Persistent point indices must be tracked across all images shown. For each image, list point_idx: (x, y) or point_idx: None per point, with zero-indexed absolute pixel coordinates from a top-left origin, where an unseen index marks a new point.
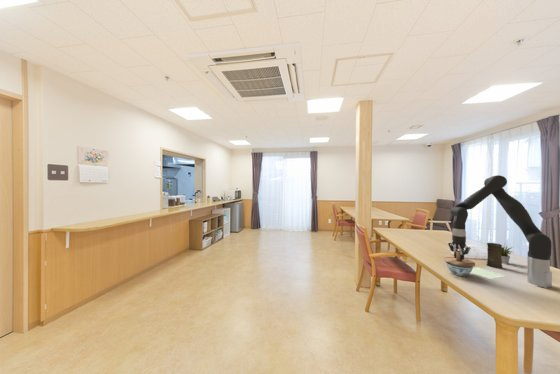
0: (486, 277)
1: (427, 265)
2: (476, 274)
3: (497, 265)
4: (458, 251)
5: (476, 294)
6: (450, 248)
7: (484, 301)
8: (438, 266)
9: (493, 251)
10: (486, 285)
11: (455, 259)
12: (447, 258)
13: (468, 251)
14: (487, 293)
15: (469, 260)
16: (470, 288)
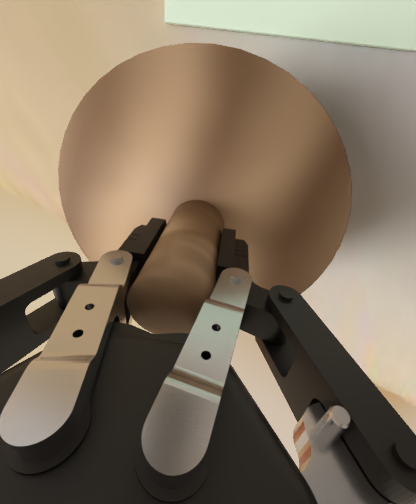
0: (383, 30)
1: (22, 195)
2: (295, 35)
3: None
4: (176, 330)
5: (363, 352)
6: (36, 326)
7: (394, 379)
8: (44, 137)
9: None
10: (390, 217)
11: (149, 205)
12: (101, 243)
13: (337, 357)
14: (401, 315)
15: (248, 60)
16: (331, 319)
